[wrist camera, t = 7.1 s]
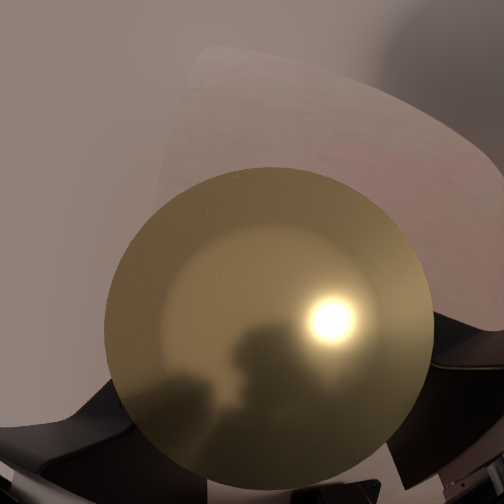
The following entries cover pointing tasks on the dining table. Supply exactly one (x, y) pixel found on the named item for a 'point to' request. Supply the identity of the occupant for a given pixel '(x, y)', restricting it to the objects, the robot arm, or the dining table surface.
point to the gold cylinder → (269, 328)
